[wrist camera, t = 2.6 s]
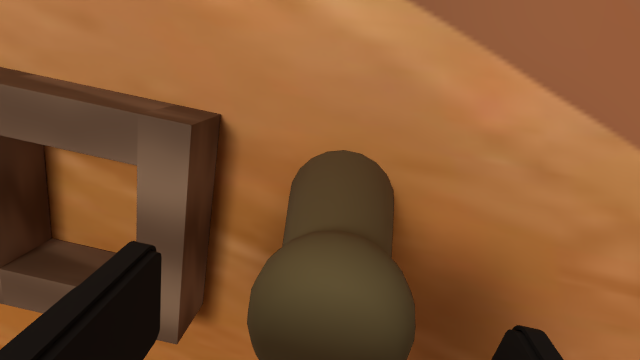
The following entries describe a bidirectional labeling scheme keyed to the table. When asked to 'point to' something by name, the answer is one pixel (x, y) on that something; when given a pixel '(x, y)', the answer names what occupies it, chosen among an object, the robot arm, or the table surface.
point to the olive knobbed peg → (334, 270)
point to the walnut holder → (115, 144)
